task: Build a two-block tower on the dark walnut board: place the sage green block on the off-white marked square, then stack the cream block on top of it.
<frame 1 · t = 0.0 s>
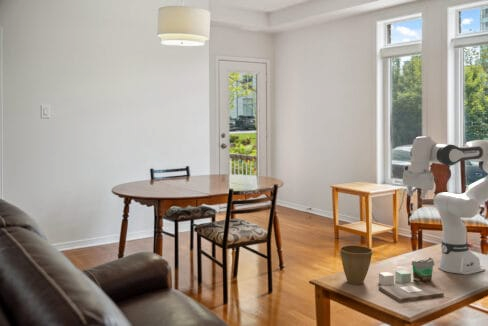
hand: (416, 196, 233), 39 cm above the table, tool pointing down, fingers open, 8 cm apart
sage green block: (402, 282, 224), on the table
food container: (425, 281, 225), on the table
cream block: (386, 284, 222), on the table
plant pot: (355, 282, 225), on the table
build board: (410, 292, 210), on the table
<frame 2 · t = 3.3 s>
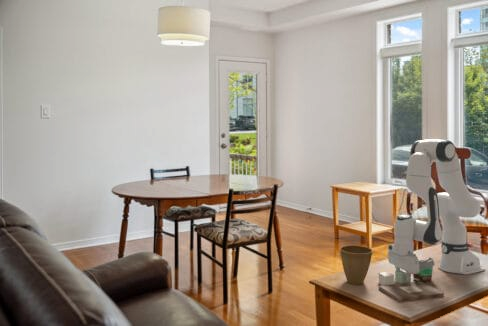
hand: (403, 277, 224), 2 cm above the table, tool pointing down, fingers closed on sage green block, 5 cm apart
sage green block: (402, 282, 224), on the table, touching gripper
everything else where it was.
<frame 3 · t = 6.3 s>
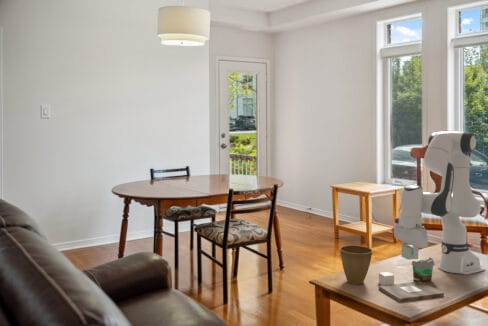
hand: (410, 253, 210), 18 cm above the table, tool pointing down, fingers closed on sage green block, 5 cm apart
sage green block: (409, 257, 210), point 16 cm above the table, touching gripper
everything else where it was.
when the fingers open (5 cm above the table, at t = 9.2 s): sage green block drops 1 cm, resting on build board.
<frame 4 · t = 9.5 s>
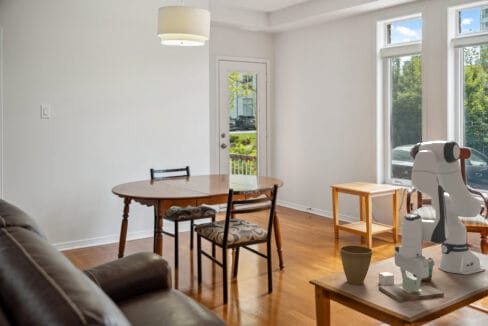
hand: (410, 281, 210), 5 cm above the table, tool pointing down, fingers open, 8 cm apart
sage green block: (410, 289, 210), point 2 cm above the table, touching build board
everything else where it was.
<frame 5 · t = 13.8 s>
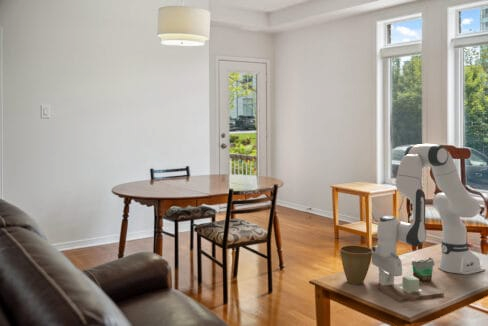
hand: (386, 279, 222), 2 cm above the table, tool pointing down, fingers closed on cream block, 5 cm apart
cream block: (386, 284, 222), on the table, touching gripper
everything else where it was.
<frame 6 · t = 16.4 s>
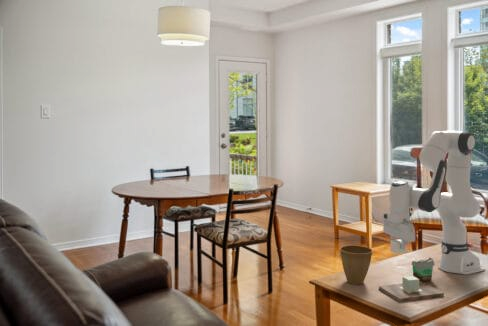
hand: (398, 247, 215), 19 cm above the table, tool pointing down, fingers closed on cream block, 5 cm apart
cream block: (398, 251, 215), point 17 cm above the table, touching gripper
everything else where it was.
when the fingers open (10 cm above the table, at t = 19.0 s): cream block drops 1 cm, resting on sage green block.
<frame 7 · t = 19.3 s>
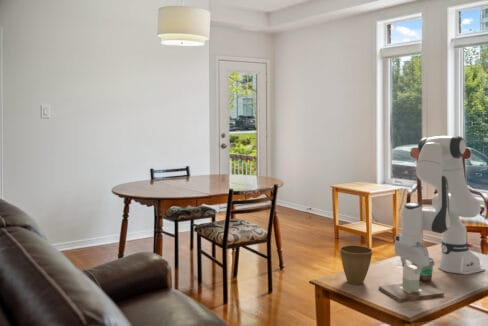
hand: (411, 270, 210), 10 cm above the table, tool pointing down, fingers open, 8 cm apart
sage green block: (410, 289, 210), point 2 cm above the table, touching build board, cream block
cream block: (411, 278, 210), point 7 cm above the table, touching sage green block
everything else where it was.
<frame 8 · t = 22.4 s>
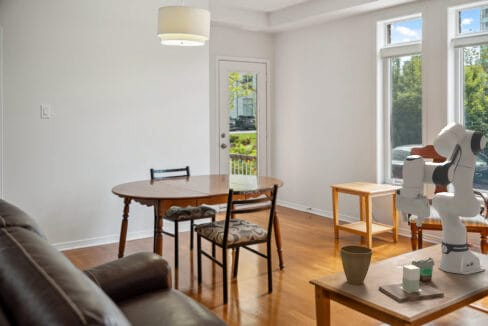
hand: (412, 223, 208), 31 cm above the table, tool pointing down, fingers open, 8 cm apart
nothing on the table moved.
at the end: sage green block 0.0 cm off-centre on the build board, point 1.7 cm above the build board's base; cream block inside the target area on the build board (0.1 cm from its centre), point 6.7 cm above the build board's base; cream block tilted 0° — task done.
